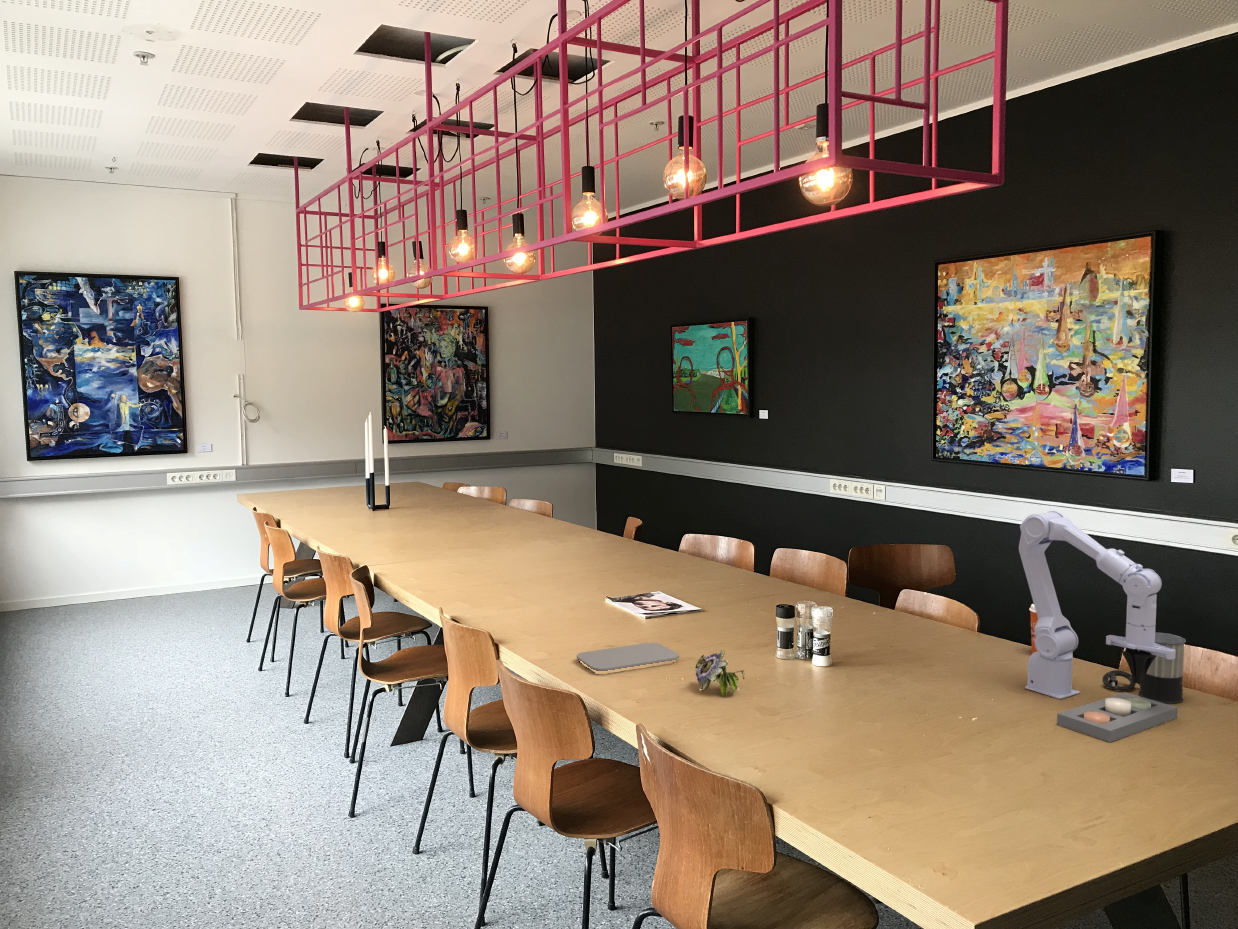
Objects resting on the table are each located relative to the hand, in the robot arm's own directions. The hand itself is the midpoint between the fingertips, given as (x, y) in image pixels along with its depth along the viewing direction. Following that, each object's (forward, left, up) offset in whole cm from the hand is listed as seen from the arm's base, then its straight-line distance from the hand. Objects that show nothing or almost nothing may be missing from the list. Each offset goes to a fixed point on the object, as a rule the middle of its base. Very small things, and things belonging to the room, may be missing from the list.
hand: (1138, 682), depth 204 cm
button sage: (0, 0, -7) cm, 7 cm away
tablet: (-97, -77, -8) cm, 124 cm away
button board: (0, -8, -7) cm, 11 cm away
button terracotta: (0, -16, -7) cm, 17 cm away
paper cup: (-39, +23, -8) cm, 46 cm away
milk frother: (-7, +15, -8) cm, 18 cm away
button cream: (0, -8, -6) cm, 10 cm away
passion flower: (-65, -70, -8) cm, 96 cm away
